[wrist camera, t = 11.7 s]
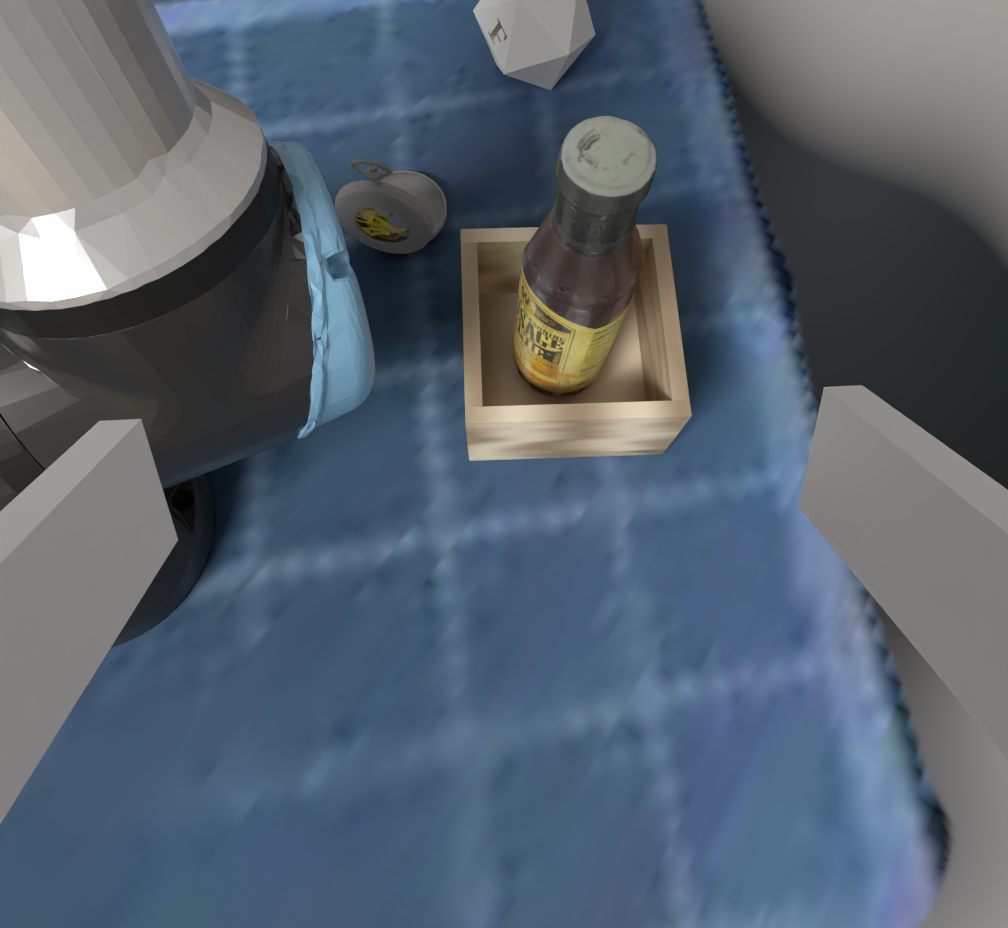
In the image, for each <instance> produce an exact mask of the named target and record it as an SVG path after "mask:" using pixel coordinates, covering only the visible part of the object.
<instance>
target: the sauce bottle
mask: <svg viewBox="0 0 1008 928" xmlns="http://www.w3.org/2000/svg"><path fill="white" fill-rule="evenodd" d="M656 165H657V155H656V150H655V147H654V145H653V143H652V141H651V140H650V139H649V138H648V136H647V134H646V133H645V132H644V131H643V130H642V129H641V128H640V127H639V126H637V125H636V124H634V123H632V122H630V121H628V120H622V119H619V118H617V117H612V116H600V117H594V118H590V119H586V120H584V121H583V122H581V123H579V124H577V125H575V126H574V127H573V128H572V129H571V130H570V131H569V132H568V134H567V136H566V137H565V139H564V140H563V143H562V145H561V148H560V150H559V156H558V160H557V164H556V174H555V175H556V179H557V183H558V189H557V194H556V200H555V202H554V205H553V207H552V209H551V210H550V212H549V213H548V214H547V216H546V217H545V219H544V220H543V222H542V223H541V225H540V226H539V228H538V229H537V231H536V232H535V234H534V235H533V237H532V238H531V240H530V241H529V242H528V244H527V245H526V247H525V249H524V251H523V255H522V262H521V269H520V281H519V292H518V301H517V309H516V323H515V333H514V344H513V350H514V356H515V362H516V365H517V369H518V372H519V374H520V375H521V376H522V378H523V379H524V380H525V381H526V382H527V383H528V384H529V385H530V386H531V387H532V388H533V389H536V390H537V391H538V392H540V393H541V394H544V395H548V396H558V397H560V396H573V395H577V394H579V393H580V392H581V391H583V390H584V389H586V388H587V387H588V386H589V385H590V384H591V383H592V382H594V381H595V380H596V378H597V377H598V376H599V374H600V373H601V371H602V370H603V367H604V365H605V363H606V360H607V358H608V356H609V353H610V351H611V349H612V346H613V343H614V341H615V338H616V336H617V333H618V331H619V329H620V326H621V324H622V321H623V319H624V316H625V314H626V312H627V309H628V307H629V305H630V302H631V300H632V297H633V293H634V287H635V285H636V284H637V281H638V278H639V276H640V272H641V268H642V262H643V249H642V241H641V237H640V234H639V231H638V229H637V227H636V224H635V220H636V217H635V216H636V213H637V210H638V207H639V204H640V203H641V202H642V201H643V200H644V198H645V197H646V196H647V194H648V192H649V190H650V187H651V184H652V181H653V178H654V174H655V171H656Z"/></svg>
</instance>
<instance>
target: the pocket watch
mask: <svg viewBox="0 0 1008 928" xmlns="http://www.w3.org/2000/svg"><path fill="white" fill-rule="evenodd" d="M359 163H362V164H371V165H369V168H367V169H362V168H360V167H358V166H356V165H355V164H359ZM351 166H352V167H353V168H354V169H356V170H358V171H360V172H363V173H364V174H365V175H366V176H367V177H368V178H369V179H372V181H369V180H361V181H355V182H351V183H349V184H347V185H345V186H343V187H342V188H341V189H340V191H339V192H338V193H337V196H336V199H335V210H336V213H337V216H338V219H339V221H340V224H341V226H342V228H343V229H344V230H345V231H346V232H347V233H348V234H349V235H351V236H352V237H353V238H354V239H356V240H357V241H359V242H361V243H363V244H365V245H367V246H369V247H371V248H373V249H376V250H380V251H383V252H388V253H395V254H406V253H412V252H416V251H419V250H420V249H422V248H423V247H424V246H425V245H426V244H427V243H428V242H429V241H431V240H432V239H434V238H435V237H436V235H437V234H438V233H439V232H440V231H441V229H442V228H443V226H444V224H445V220H446V217H447V202H446V198H445V195H444V193H443V191H442V189H441V188H440V187H439V186H438V184H437V183H436V182H435V181H433V180H432V179H430V178H429V177H427V176H425V175H424V174H421V173H418V172H414V171H404V170H400V171H392V169H391V168H389V167H387V166H386V165H383V164H380V163H377V162H373V161H368V160H355V161H352V162H351ZM377 166H378V167H381V168H383V169H385V170H387V171H388V172H383V171H382V170H381V169H379V168H377Z"/></svg>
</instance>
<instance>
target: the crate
mask: <svg viewBox="0 0 1008 928" xmlns="http://www.w3.org/2000/svg"><path fill="white" fill-rule="evenodd" d="M636 227H637V229H638V231H639V234H640V237H641V241H642V249H643V262H642V268H641V272H640V276H639V278H638V281H637V284H636V285H635V287H634V293H633V297H632V300H631V302H630V305H629V307H628V309H627V312H626V314H625V316H624V319H623V321H622V324H621V326H620V329H619V331H618V333H617V336H616V338H615V341H614V343H613V346H612V349H611V351H610V353H609V356H608V358H607V360H606V363H605V365H604V367H603V370H602V371H601V373H600V374H599V376H598V377H597V378H596V380H595V381H594V382H592V383H591V384H590V385H589V386H588V387H587V388H586V389H584V390H583V391H581V392H580V393H579V394H577V395H573V396H560V397H558V396H548V395H544V394H541V393H540V392H538V391H537V390H536V389H533V388H532V387H531V386H530V385H529V384H528V383H527V382H526V381H525V380H524V379H523V378H522V376H521V375H520V374H519V372H518V369H517V365H516V362H515V356H514V350H513V344H514V333H515V323H516V309H517V301H518V292H519V281H520V269H521V262H522V255H523V251H524V249H525V247H526V245H527V244H528V242H529V241H530V240H531V238H532V237H533V235H534V234H535V232H536V231H537V229H538V228H539V227H525V228H483V229H461V268H462V307H463V346H464V385H465V424H466V433H467V443H468V452H469V461H474V460H504V459H533V458H563V457H593V456H622V455H652V454H663V453H664V452H665V450H666V449H667V448H668V446H669V445H670V444H671V443H672V441H673V440H674V439H675V437H676V436H677V435H678V433H679V432H680V431H681V430H682V428H683V427H684V426H685V424H686V423H687V422H688V420H689V419H690V418H691V417H692V414H691V407H690V399H689V391H688V384H687V376H686V369H685V361H684V353H683V346H682V338H681V331H680V323H679V315H678V308H677V300H676V292H675V285H674V277H673V270H672V262H671V254H670V247H669V239H668V232H667V224H650V225H636Z"/></svg>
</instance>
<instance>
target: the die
mask: <svg viewBox="0 0 1008 928" xmlns="http://www.w3.org/2000/svg"><path fill="white" fill-rule="evenodd" d="M473 12H474V14H475V16H476V19H477V21H478V23H479V26H480V28H481V30H482V32H483V35H484V37H485V39H486V42H487V44H488V46H489V49H490V51H491V53H492V56H493V58H494V60H495V63H496V65H497V66H498V67H499V69H500V70H501V71H502V73H503V74H505V75H507V76H510V77H513V78H516V79H519V80H522V81H525V82H528V83H530V84H533V85H536V86H539V87H542V88H545V89H548V90H551V89H552V88H553V87H554V86H555V84H556V83H557V82H558V81H559V79H560V78H561V77H562V76H563V74H564V73H565V72H566V71H567V69H568V68H569V67H570V66H571V64H572V63H573V62H574V61H575V59H576V58H577V57H578V56H579V54H580V53H581V52H582V51H583V49H584V48H585V47H586V46H587V44H588V43H589V42H590V41H591V39H592V38H593V37H594V36H595V32H594V28H593V24H592V20H591V16H590V12H589V8H588V5H587V1H586V0H480V1H479V3H478V4H477V5H476V7H475V8H474V10H473Z"/></svg>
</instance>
